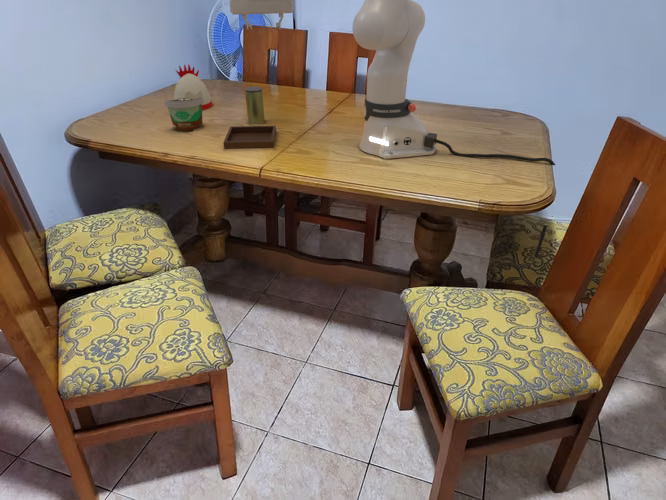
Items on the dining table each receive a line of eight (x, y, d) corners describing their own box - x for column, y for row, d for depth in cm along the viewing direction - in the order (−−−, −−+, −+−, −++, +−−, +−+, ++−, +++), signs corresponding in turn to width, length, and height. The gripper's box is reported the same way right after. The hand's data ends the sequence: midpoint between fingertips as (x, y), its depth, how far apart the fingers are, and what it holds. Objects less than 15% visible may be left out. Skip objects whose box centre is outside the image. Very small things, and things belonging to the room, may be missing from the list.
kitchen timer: (172, 103, 179) (164, 62, 171) (207, 99, 184) (201, 59, 176) (178, 113, 169) (170, 69, 160) (215, 108, 173) (209, 66, 165)
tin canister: (265, 120, 161) (262, 86, 155) (264, 125, 157) (261, 90, 150) (249, 120, 161) (245, 86, 155) (247, 125, 156) (243, 91, 150)
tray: (276, 133, 150) (275, 125, 148) (273, 149, 138) (273, 141, 136) (231, 134, 149) (230, 126, 148) (224, 150, 137) (223, 142, 136)
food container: (168, 134, 149) (162, 103, 144) (169, 128, 154) (163, 97, 149) (208, 130, 152) (203, 100, 146) (207, 125, 157) (202, 95, 151)
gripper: (224, -19, 140) (230, 31, 148) (291, -21, 141) (294, 29, 148) (227, -20, 146) (233, 29, 153) (292, -21, 146) (295, 27, 154)
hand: (264, 29), depth 151 cm, fingers open, 8 cm apart
